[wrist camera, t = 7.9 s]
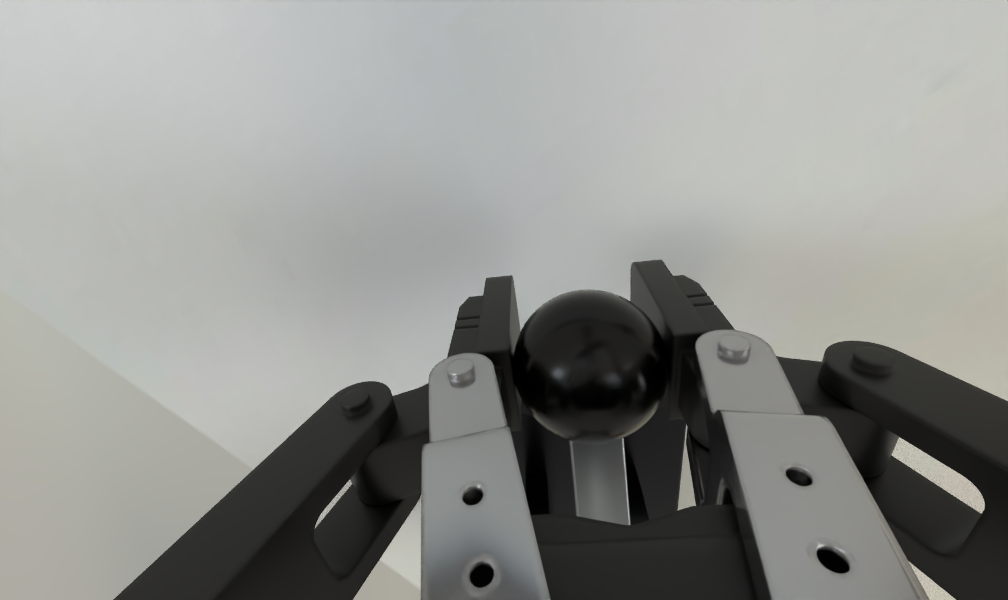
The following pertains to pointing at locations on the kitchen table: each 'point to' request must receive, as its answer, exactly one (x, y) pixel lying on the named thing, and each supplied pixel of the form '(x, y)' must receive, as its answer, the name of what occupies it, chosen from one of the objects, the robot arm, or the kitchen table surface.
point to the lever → (592, 387)
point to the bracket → (646, 456)
